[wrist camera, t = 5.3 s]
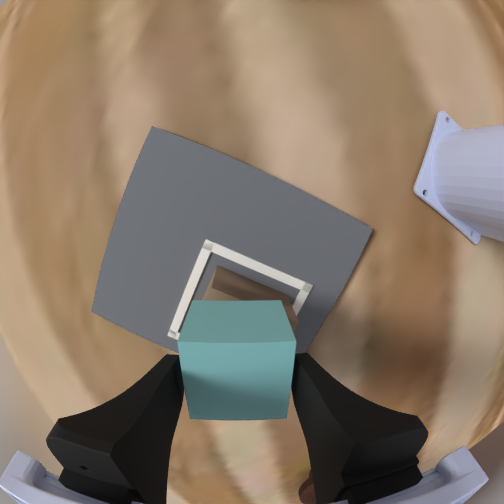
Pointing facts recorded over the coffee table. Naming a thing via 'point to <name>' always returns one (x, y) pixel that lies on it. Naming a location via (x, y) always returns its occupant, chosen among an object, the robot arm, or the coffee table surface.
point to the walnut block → (245, 292)
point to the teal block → (237, 360)
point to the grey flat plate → (218, 240)
